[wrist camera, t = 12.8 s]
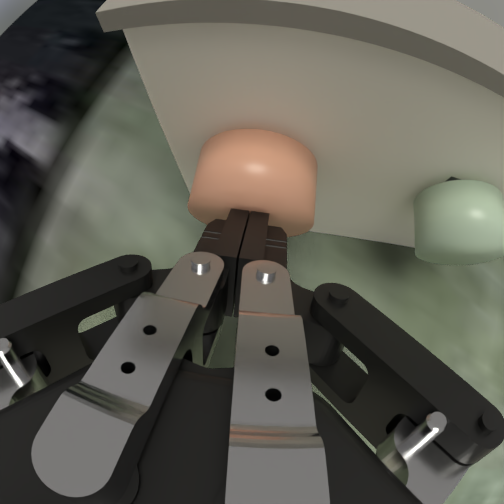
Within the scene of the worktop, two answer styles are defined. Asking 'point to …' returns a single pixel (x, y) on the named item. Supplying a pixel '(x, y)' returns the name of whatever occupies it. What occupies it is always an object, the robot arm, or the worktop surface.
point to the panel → (331, 93)
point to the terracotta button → (256, 179)
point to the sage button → (459, 223)
